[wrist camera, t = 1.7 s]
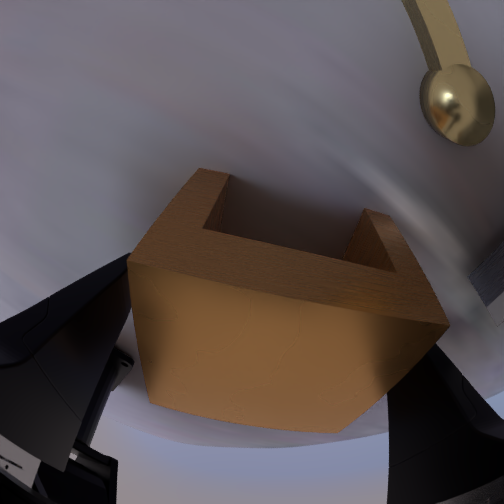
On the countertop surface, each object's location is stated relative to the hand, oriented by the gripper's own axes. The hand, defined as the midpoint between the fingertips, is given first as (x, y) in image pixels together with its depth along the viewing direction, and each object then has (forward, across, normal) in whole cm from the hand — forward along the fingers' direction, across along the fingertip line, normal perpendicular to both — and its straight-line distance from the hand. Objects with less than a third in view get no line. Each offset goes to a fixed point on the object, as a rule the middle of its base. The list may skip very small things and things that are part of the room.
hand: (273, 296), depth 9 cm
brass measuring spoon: (+2, -2, -10) cm, 10 cm away
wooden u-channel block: (+2, 0, 0) cm, 2 cm away
